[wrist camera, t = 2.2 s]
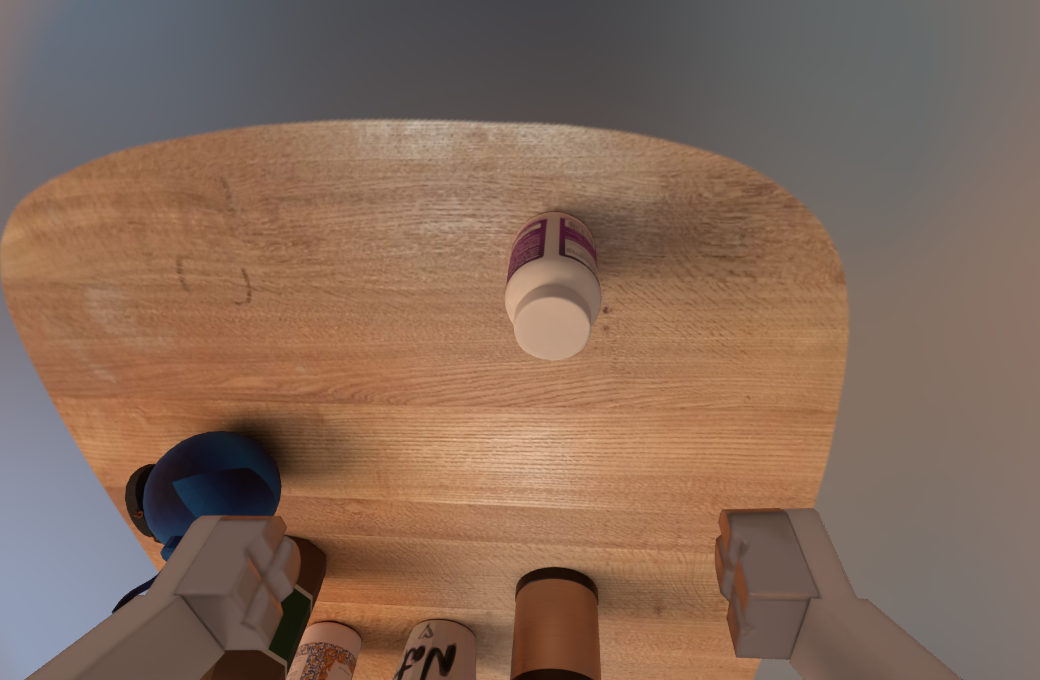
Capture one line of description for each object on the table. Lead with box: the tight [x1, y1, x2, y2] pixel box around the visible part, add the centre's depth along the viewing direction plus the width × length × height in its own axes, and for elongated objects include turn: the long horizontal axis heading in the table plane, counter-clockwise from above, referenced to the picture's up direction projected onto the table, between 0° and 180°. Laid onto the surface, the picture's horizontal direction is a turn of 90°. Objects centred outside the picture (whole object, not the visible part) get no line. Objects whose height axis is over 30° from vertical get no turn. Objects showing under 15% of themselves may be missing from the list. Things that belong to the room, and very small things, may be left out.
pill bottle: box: [505, 212, 602, 361], centre depth 33 cm, size 5×5×10 cm
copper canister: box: [510, 568, 601, 680], centre depth 54 cm, size 9×9×13 cm
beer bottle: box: [200, 536, 326, 680], centre depth 49 cm, size 8×8×24 cm
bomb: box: [112, 431, 282, 614], centre depth 44 cm, size 10×11×15 cm
